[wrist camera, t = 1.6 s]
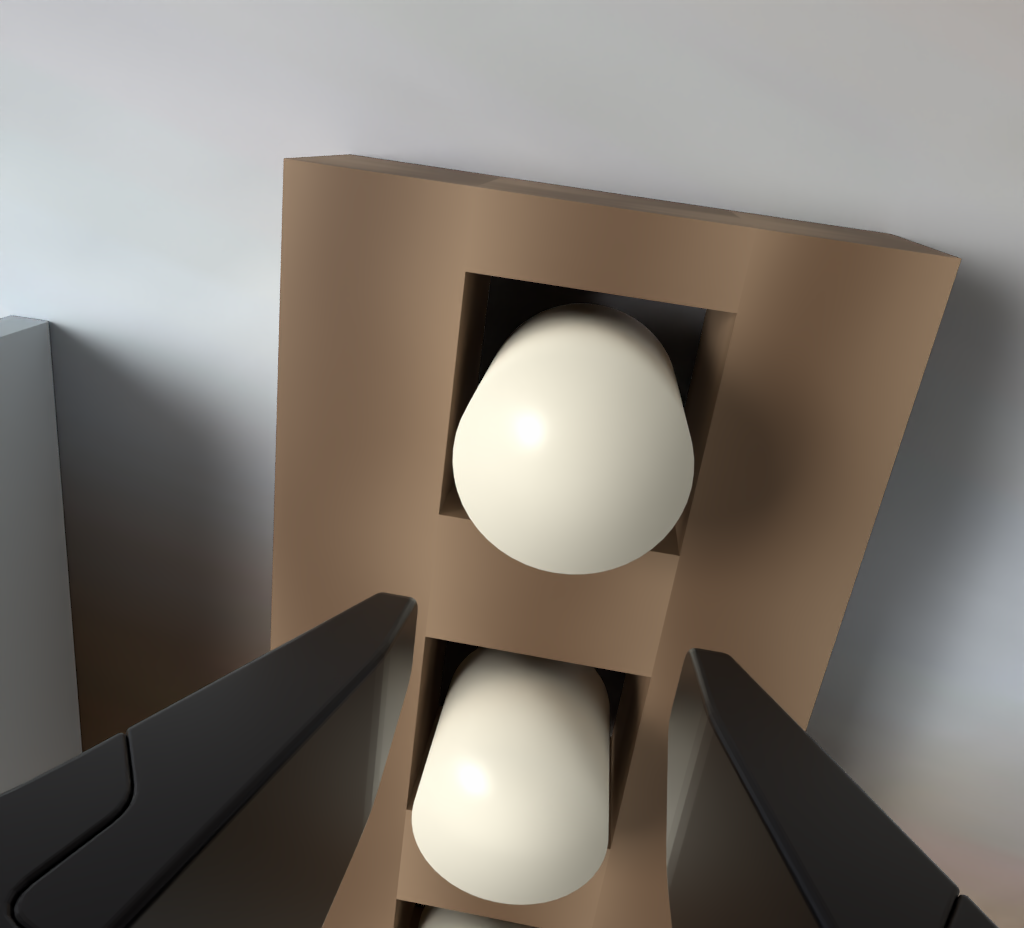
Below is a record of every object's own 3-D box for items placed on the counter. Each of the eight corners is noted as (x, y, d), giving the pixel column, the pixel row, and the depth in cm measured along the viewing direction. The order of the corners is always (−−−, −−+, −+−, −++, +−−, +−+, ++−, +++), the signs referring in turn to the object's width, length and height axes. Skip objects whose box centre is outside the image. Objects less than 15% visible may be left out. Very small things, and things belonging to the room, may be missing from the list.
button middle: (623, 653, 20) (624, 772, 16) (594, 783, 21) (590, 920, 17) (457, 623, 20) (420, 733, 16) (440, 755, 21) (403, 883, 18)
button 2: (696, 319, 17) (718, 371, 13) (657, 499, 18) (667, 592, 14) (499, 288, 17) (466, 331, 13) (476, 469, 18) (441, 553, 15)
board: (890, 234, 18) (961, 258, 14) (667, 991, 27) (674, 1126, 23) (349, 154, 19) (284, 158, 15) (307, 918, 28) (259, 1038, 24)
